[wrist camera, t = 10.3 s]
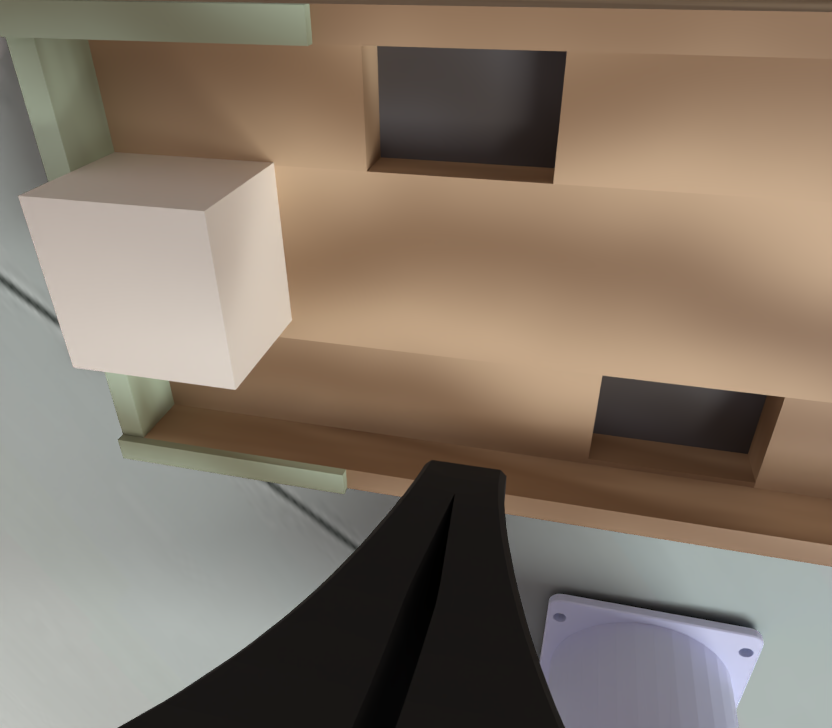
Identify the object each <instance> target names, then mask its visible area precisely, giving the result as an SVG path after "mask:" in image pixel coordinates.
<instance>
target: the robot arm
mask: <svg viewBox="0 0 832 728" xmlns="http://www.w3.org/2000/svg"><path fill="white" fill-rule="evenodd" d="M506 477H507V476H506V475H505V474H504V473H503V472H502V471H501V470H498V469H491V468H484V467H478V466H471V465H464V464H457V463H450V462H443V461H436V460H431V461H429V462H428V463H426V464H425V465H424V467H423V468H422V470H421V471H420V473H419V474H418V476H417V477H416V478H415V480H414V481H413V483H412V484H411V485H410V487H409V488H408V489H407V491H406V492H405V493H404V495H403V496H402V497H401V498H400V500H399V501H398V502H397V503H396V505H395V506H394V507H393V508H392V510H391V511H390V512H389V513H388V514H387V516H386V517H385V518H384V519H383V520H382V521H381V522H380V524H379V525H378V526H377V527H376V528H375V529H374V531H373V532H372V533H371V534H370V535H369V536H368V537H367V539H366V540H365V541H364V542H363V543H362V544H361V545H360V546H359V547H358V548H357V549H356V550H355V551H354V552H353V553H352V554H351V555H350V556H349V557H348V559H347V560H346V561H345V562H344V563H343V564H342V565H341V566H340V567H339V568H338V569H337V570H336V571H335V572H334V573H333V574H332V575H331V576H330V577H329V578H328V579H327V580H326V581H325V582H323V583H322V584H321V585H320V586H319V587H318V588H317V589H316V590H315V591H314V592H313V593H312V594H310V595H309V596H308V597H307V598H306V599H305V600H304V601H303V602H301V603H300V604H299V605H298V606H297V607H296V608H294V609H293V610H292V611H291V612H290V613H289V614H287V615H286V616H285V617H284V618H283V619H281V620H280V621H279V622H277V623H276V624H275V625H274V626H272V627H271V628H270V629H269V630H267V631H266V632H265V633H263V634H262V635H261V636H260V637H258V638H257V639H256V640H255V641H253V642H252V643H251V644H249V645H248V646H247V647H245V648H244V649H242V650H241V651H240V652H238V653H237V654H236V655H234V656H233V657H231V658H230V659H228V660H227V661H225V662H224V663H222V664H221V665H219V666H218V667H216V668H215V669H213V670H212V671H210V672H209V673H207V674H206V675H204V676H203V677H201V678H200V679H198V680H197V681H195V682H194V683H192V684H191V685H189V686H188V687H186V688H185V689H183V690H182V691H180V692H179V693H177V694H175V695H174V696H172V697H170V698H169V699H167V700H166V701H164V702H162V703H160V704H159V705H157V706H155V707H153V708H152V709H150V710H148V711H146V712H145V713H143V714H141V715H139V716H138V717H136V718H134V719H132V720H130V721H129V722H127V723H125V724H123V725H122V726H120V727H118V728H739V724H738V718H737V712H736V709H737V707H738V704H739V702H740V700H741V697H742V695H743V693H744V690H745V688H746V686H747V683H748V681H749V679H750V676H751V674H752V671H753V669H754V667H755V664H756V662H757V660H758V657H759V655H760V653H761V650H762V648H763V644H764V642H763V638H762V635H761V633H760V632H759V631H757V630H755V629H752V628H747V627H742V626H736V625H731V624H725V623H720V622H714V621H709V620H704V619H698V618H693V617H687V616H682V615H676V614H671V613H665V612H660V611H654V610H649V609H643V608H638V607H632V606H627V605H621V604H616V603H610V602H605V601H599V600H594V599H588V598H583V597H577V596H572V595H566V594H555V595H553V596H551V597H550V599H549V603H548V610H547V616H546V623H545V630H544V636H543V643H542V650H541V656H540V662H539V659H538V656H537V653H536V650H535V647H534V644H533V641H532V638H531V635H530V632H529V628H528V625H527V622H526V618H525V615H524V611H523V607H522V603H521V599H520V596H519V592H518V588H517V583H516V579H515V575H514V570H513V564H512V559H511V554H510V548H509V543H508V536H507V529H506V519H505V504H504V503H505V490H506ZM559 613H561V614H559Z"/></svg>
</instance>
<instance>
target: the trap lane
mask: <svg viewBox="0 0 832 728" xmlns="http://www.w3.org/2000/svg"><path fill="white" fill-rule="evenodd" d="M0 37H5V38H6V41H7V44H8V48H9V51H10V54H11V58H12V61H13V65H14V68H15V71H16V75H17V78H18V81H19V85H20V88H21V92H22V95H23V98H24V102H25V105H26V108H27V112H28V115H29V119H30V122H31V125H32V129H33V132H34V135H35V139H36V142H37V146H38V149H39V152H40V156H41V159H42V162H43V166H44V169H45V173H46V176H47V179H48V182H50V181H52V180H54V179H56V178H58V177H61V176H63V175H65V174H67V173H70V172H72V171H74V170H76V169H78V168H81V167H83V166H85V165H87V164H89V163H92V162H94V161H96V160H98V159H100V158H103V157H105V156H107V155H109V154H112V153H114V152H121V153H136V154H151V155H166V156H181V157H196V158H211V159H226V160H242V161H257V162H272V163H274V169H275V178H276V187H277V195H278V204H279V213H280V221H281V230H282V239H283V247H284V256H285V265H286V273H287V282H288V291H289V299H290V308H291V317H292V321H291V322H290V323H289V325H288V326H287V327H286V328H285V330H284V331H283V332H282V333H281V334H280V336H279V337H278V338H277V339H276V341H275V342H274V343H273V344H272V346H271V347H270V348H269V349H268V351H267V352H266V353H265V354H264V356H263V357H262V358H261V359H260V361H259V362H258V363H257V364H256V365H255V367H254V368H253V369H252V370H251V372H250V373H249V374H248V375H247V377H246V378H245V379H244V380H243V382H242V383H241V384H240V385H239V387H238V388H237V389H236V390H233V389H225V388H218V387H211V386H204V385H196V384H189V383H182V382H174V381H167V380H160V379H153V378H145V377H138V376H131V375H124V374H116V373H109V372H105V375H106V379H107V382H108V385H109V389H110V392H111V395H112V399H113V402H114V406H115V409H116V412H117V416H118V419H119V422H120V426H121V429H122V433H123V435H122V436H121V437H120V438H119V439H118V442H119V445H120V448H121V452H122V455H123V458H126V459H132V460H139V461H145V462H151V463H157V464H163V465H169V466H175V467H181V468H187V469H193V470H199V471H206V472H212V473H218V474H224V475H230V476H236V477H242V478H248V479H254V480H260V481H266V482H273V483H279V484H285V485H291V486H297V487H303V488H309V489H315V490H321V491H327V492H333V493H339V494H345V492H346V490H347V488H350V489H356V490H362V491H369V492H375V493H381V494H387V495H393V496H399V497H402V496H403V495H404V493H405V492H406V491H407V489H408V488H409V487H410V485H411V484H412V483H413V481H414V480H415V478H416V477H417V476H418V474H419V473H420V471H421V470H422V468H423V467H424V465H425V464H426V463H428V462H429V461H431V460H436V461H443V462H450V463H457V464H464V465H471V466H478V467H484V468H491V469H498V470H501V471H502V472H503V473H504V474H505V475H506V476H507V477H506V490H505V503H504V504H505V514H510V515H517V516H523V517H529V518H535V519H541V520H547V521H553V522H560V523H566V524H572V525H578V526H584V527H590V528H597V529H603V530H609V531H615V532H621V533H627V534H634V535H640V536H646V537H652V538H658V539H664V540H671V541H677V542H683V543H689V544H695V545H701V546H708V547H714V548H720V549H726V550H732V551H738V552H745V553H751V554H757V555H763V556H769V557H775V558H782V559H788V560H794V561H800V562H806V563H812V564H819V565H825V566H831V567H832V0H0Z"/></svg>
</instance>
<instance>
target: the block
mask: <svg viewBox="0 0 832 728" xmlns="http://www.w3.org/2000/svg"><path fill="white" fill-rule="evenodd" d="M18 197H19V200H20V203H21V207H22V210H23V213H24V216H25V219H26V222H27V225H28V228H29V231H30V234H31V237H32V241H33V244H34V247H35V250H36V253H37V256H38V259H39V262H40V265H41V268H42V272H43V275H44V278H45V281H46V284H47V287H48V290H49V293H50V296H51V299H52V302H53V306H54V309H55V312H56V315H57V318H58V321H59V324H60V327H61V330H62V333H63V336H64V340H65V343H66V346H67V349H68V352H69V355H70V358H71V361H72V364H73V367H74V368H80V369H87V370H95V371H102V372H109V373H116V374H124V375H131V376H138V377H145V378H153V379H160V380H167V381H174V382H182V383H189V384H196V385H204V386H211V387H218V388H225V389H233V390H236V389H237V388H238V387H239V385H240V384H241V383H242V382H243V380H244V379H245V378H246V377H247V375H248V374H249V373H250V372H251V370H252V369H253V368H254V367H255V365H256V364H257V363H258V362H259V361H260V359H261V358H262V357H263V356H264V354H265V353H266V352H267V351H268V349H269V348H270V347H271V346H272V344H273V343H274V342H275V341H276V339H277V338H278V337H279V336H280V334H281V333H282V332H283V331H284V330H285V328H286V327H287V326H288V325H289V323H290V322H291V321H292V317H291V308H290V299H289V291H288V282H287V273H286V265H285V256H284V247H283V239H282V230H281V221H280V213H279V204H278V195H277V187H276V178H275V169H274V163H272V162H257V161H242V160H226V159H211V158H196V157H181V156H166V155H151V154H136V153H121V152H114V153H112V154H109V155H107V156H105V157H103V158H100V159H98V160H96V161H94V162H92V163H89V164H87V165H85V166H83V167H81V168H78V169H76V170H74V171H72V172H70V173H67V174H65V175H63V176H61V177H58V178H56V179H54V180H52V181H50V182H47V183H45V184H43V185H41V186H39V187H36V188H34V189H32V190H30V191H27V192H25V193H23V194H21V195H19V196H18Z"/></svg>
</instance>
